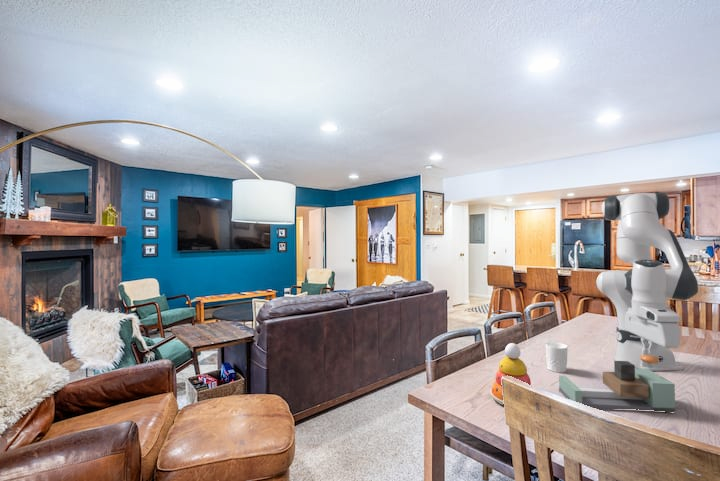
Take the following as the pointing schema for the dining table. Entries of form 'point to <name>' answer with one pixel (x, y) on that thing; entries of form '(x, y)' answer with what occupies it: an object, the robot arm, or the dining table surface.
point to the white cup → (556, 356)
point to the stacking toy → (509, 371)
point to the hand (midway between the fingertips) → (649, 353)
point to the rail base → (608, 399)
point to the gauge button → (649, 360)
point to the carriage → (625, 381)
